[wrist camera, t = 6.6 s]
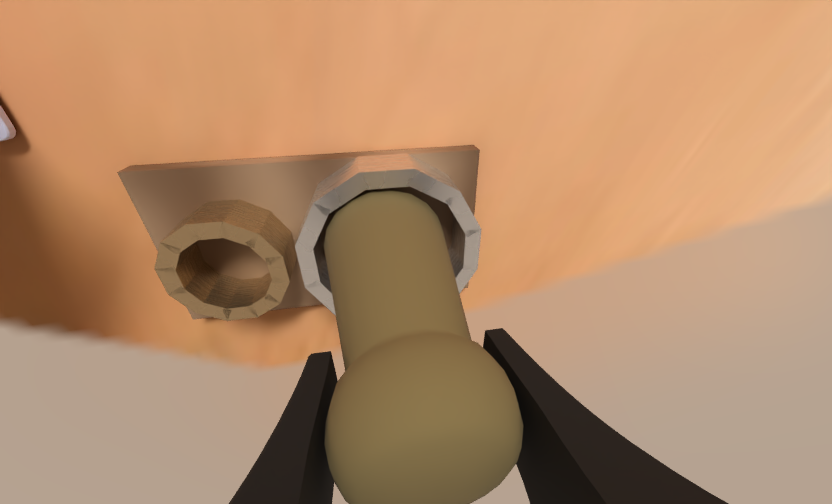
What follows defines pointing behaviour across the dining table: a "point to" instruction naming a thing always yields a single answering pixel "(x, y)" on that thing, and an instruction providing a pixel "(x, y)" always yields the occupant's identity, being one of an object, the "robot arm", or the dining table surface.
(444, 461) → the olive bulbous peg
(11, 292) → the dining table surface
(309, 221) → the wide steel ring
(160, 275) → the narrow bronze ring
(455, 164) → the smooth grayish brown board
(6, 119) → the robot arm
